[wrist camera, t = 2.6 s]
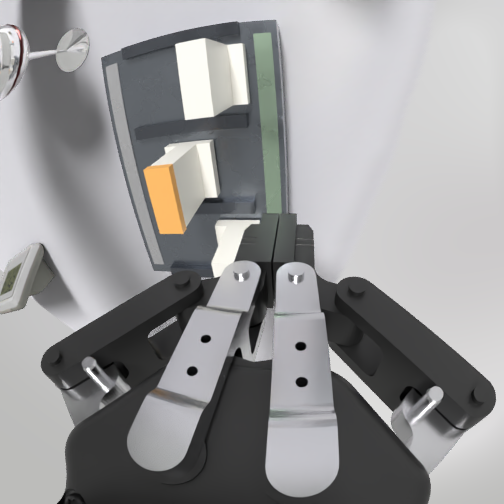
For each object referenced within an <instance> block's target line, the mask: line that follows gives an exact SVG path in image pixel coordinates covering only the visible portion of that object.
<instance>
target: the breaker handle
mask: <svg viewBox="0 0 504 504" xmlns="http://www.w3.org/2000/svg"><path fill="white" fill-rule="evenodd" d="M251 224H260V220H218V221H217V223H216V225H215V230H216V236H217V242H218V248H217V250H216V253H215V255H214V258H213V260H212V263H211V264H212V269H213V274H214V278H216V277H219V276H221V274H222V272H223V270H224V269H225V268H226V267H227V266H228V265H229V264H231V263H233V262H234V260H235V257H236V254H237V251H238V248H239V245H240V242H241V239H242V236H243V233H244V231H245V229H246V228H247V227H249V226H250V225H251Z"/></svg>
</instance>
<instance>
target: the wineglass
mask: <svg viewBox="0 0 504 504" xmlns="http://www.w3.org/2000/svg"><path fill="white" fill-rule="evenodd" d="M88 49H89V39H88V36H87V34H86V32H85V31H83V30H82V29H79V28H75V29H71V30H70V31H68V32H67V33H66V34H65V35H64V36H63V37H62V38H61V40H60V41H59V44H58V46H57V50H47V51H37V52H30V45H29V42H28V40H27V37H26V35H25V33H24V32H23V31H22V29H21V28H19V27H16V26H15V25H9V24H7V25H1V26H0V101H1V100H2V99H4V98H5V97H6V96H8V95H9V94H10V93H11V92H12V91H14V90H15V88H16V87H17V85H18V84H19V83H20V81H21V79H22V77H23V75H24V73H25V71H26V69H27V67H28V63H29V60H32V59H36V58H40V57H45V56H49V55H54V54H56V62H57V64H58V66H59V68H60V69H61V70H62V71H65V72H72V71H74V70H76V69H77V68H79V67H80V66H81V65H82V63H83V62H84V60H85V59H86V56H87V53H88Z"/></svg>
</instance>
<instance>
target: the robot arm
mask: <svg viewBox="0 0 504 504" xmlns="http://www.w3.org/2000/svg"><path fill="white" fill-rule="evenodd" d="M274 299H275V314H274V336H273V359H272V360H266V361H259V362H255V358H256V354H257V350H258V347H259V343H260V339H261V336H262V332H263V328H264V324H265V315H266V310H267V308H273V306H274ZM174 316H176V319H177V321H175V322H174V323H172V324H171V325H169V326H168V327H166V328H165V329H163V330H161V331H160V332H158V333H157V334H155V335H153V336H152V337H150V338H148V335H149V333H150V332H151V331H152V330H153V329H155V328H156V327H158V326H159V325H161V324H163V323H164V322H166V321H167V320H169V319H171V318H172V317H174ZM328 344H329V346H330V347H331V349H332V350H333V351H334V352H335V353H336V354H337V355H338V356H339V357H340V358H341V359H342V360H343V361H344V362H345V363H346V364H347V365H348V366H349V367H350V368H351V369H352V370H353V371H354V372H355V373H356V374H357V375H358V377H359V378H360V379H361V380H362V381H363V382H364V383H365V384H366V385H367V386H368V387H369V388H370V389H371V390H372V391H373V392H374V393H375V394H376V395H377V396H378V397H379V398H380V399H381V400H382V401H383V402H384V403H385V404H386V405H387V406H388V407H389V408H390V409H391V410H392V411H393V414H392V417H391V425H392V428H393V430H394V432H395V433H396V434H395V433H394V432H393V431H392V430H391V429H390V428H389V427H388V425H387V424H386V423H385V422H384V421H383V420H382V419H381V417H380V416H379V415H378V414H377V413H376V412H375V411H374V410H373V408H372V407H371V406H370V405H369V404H368V403H367V402H366V400H365V399H364V398H363V397H362V396H361V395H360V394H359V392H357V390H356V389H355V388H354V387H353V386H352V385H351V384H350V383H349V382H348V381H347V380H346V379H344V378H343V377H341V376H340V375H338V374H336V373H334V372H332V371H331V369H330V358H329V349H328ZM41 368H42V371H43V372H44V373H45V374H46V375H47V376H48V377H49V378H50V379H51V380H52V381H53V382H54V383H55V385H56V386H57V387H58V388H59V389H60V390H61V392H62V395H63V398H64V400H65V403H66V405H67V408H68V411H69V413H70V416H71V418H72V420H73V423H74V425H75V428H74V429H73V430H72V432H71V433H70V435H69V437H68V439H67V442H66V447H65V448H66V449H65V457H66V458H65V459H66V470H67V480H66V489H65V493H64V495H63V497H62V499H61V500H60V501H59V502H58V503H57V504H428V501H429V497H430V491H431V490H430V489H431V484H430V478H429V474H430V472H432V471H433V470H434V468H435V467H436V466H437V465H438V464H439V463H440V462H441V461H442V459H443V458H444V457H445V456H446V455H447V454H448V452H449V451H450V450H451V449H452V448H453V446H454V445H455V444H456V443H457V441H458V440H459V439H460V437H461V436H462V435H463V433H464V432H466V431H467V430H469V429H470V428H471V427H473V426H474V425H475V424H477V423H478V422H479V421H481V420H482V419H483V418H484V417H486V416H487V415H488V414H489V413H490V412H491V411H492V410H493V408H494V406H495V402H496V394H495V390H494V388H493V386H492V384H491V383H490V382H489V381H488V380H487V379H486V378H485V377H484V376H483V375H482V374H480V372H478V371H477V370H476V369H475V368H474V367H473V366H472V365H471V364H469V363H468V362H467V361H466V360H465V359H464V358H463V357H461V356H460V355H459V354H458V353H457V352H456V351H455V350H453V349H452V348H451V347H450V346H448V345H447V344H446V343H445V342H444V341H443V340H442V339H440V338H439V337H438V336H437V335H436V334H434V333H433V332H432V331H431V330H430V329H428V328H427V327H426V326H425V325H424V324H422V323H421V322H420V321H419V320H417V319H416V318H415V317H414V316H413V315H411V314H410V313H409V312H408V311H406V310H405V309H404V308H403V307H401V306H400V305H399V304H398V303H396V302H395V301H394V300H393V299H391V298H390V297H389V296H387V295H386V294H385V293H384V292H382V291H381V290H380V289H378V288H377V287H376V286H375V285H373V284H372V283H370V282H369V281H367V280H366V279H363V278H360V277H348V278H345V279H343V280H341V281H340V282H339V283H338V284H335V283H331V282H328V281H326V280H324V279H322V278H321V277H319V276H318V275H317V273H316V271H315V268H314V240H313V230H312V229H311V228H310V226H309V225H297V214H287V213H281V214H279V213H263V215H262V219H261V223H260V224H251V225H250V226H249V227H247V228H246V229H245V231H244V233H243V236H242V239H241V242H240V245H239V248H238V251H237V254H236V257H235V260H234V262H233V263H231V264H229V265H228V266H227V267H226V268H225V269H224V270H223V272H222V274H221V276H219V277H216V278H211V279H206V280H201V277H200V275H199V274H198V273H196V272H194V271H189V270H185V271H180V272H177V273H174V274H173V275H171V276H169V277H167V278H166V279H164V280H162V281H160V282H159V283H157V284H155V285H154V286H152V287H150V288H148V289H147V290H145V291H143V292H142V293H140V294H138V295H136V296H135V297H133V298H131V299H130V300H128V301H126V302H125V303H123V304H121V305H119V306H118V307H116V308H114V309H113V310H111V311H109V312H108V313H106V314H104V315H103V316H101V317H99V318H98V319H96V320H94V321H93V322H91V323H89V324H88V325H86V326H84V327H83V328H81V329H79V330H78V331H76V332H74V333H73V334H71V335H70V336H68V337H66V338H65V339H63V340H61V341H60V342H58V343H56V344H55V345H53V346H52V347H50V348H49V349H48V350H47V351H46V352H45V354H44V355H43V358H42V361H41ZM397 436H398V437H397Z"/></svg>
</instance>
